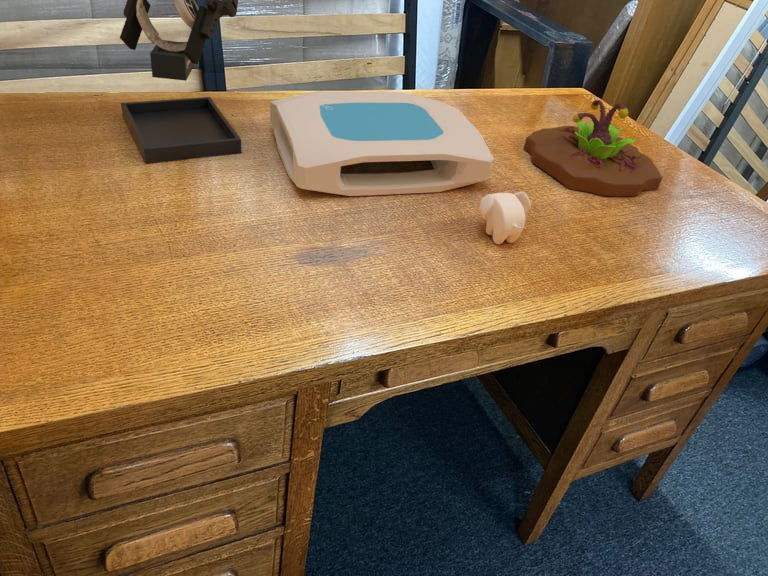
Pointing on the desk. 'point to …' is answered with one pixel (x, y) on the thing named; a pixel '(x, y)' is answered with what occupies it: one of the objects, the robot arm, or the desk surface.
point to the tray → (180, 129)
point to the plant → (593, 156)
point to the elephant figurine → (505, 215)
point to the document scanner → (376, 142)
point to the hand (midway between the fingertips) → (159, 51)
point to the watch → (169, 43)
